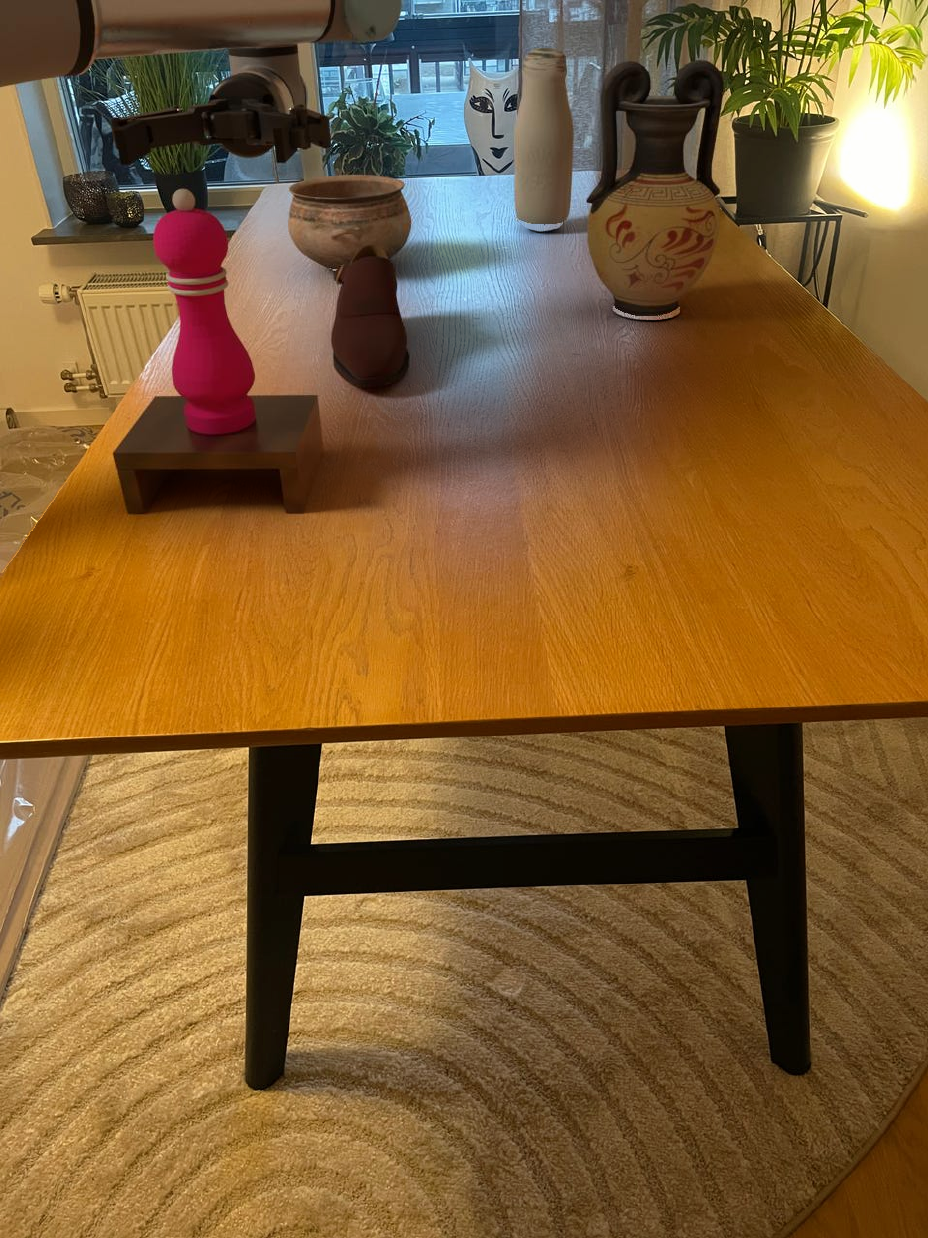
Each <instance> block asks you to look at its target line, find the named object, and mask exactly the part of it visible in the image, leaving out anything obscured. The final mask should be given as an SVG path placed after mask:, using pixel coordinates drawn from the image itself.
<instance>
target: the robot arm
mask: <svg viewBox="0 0 928 1238" xmlns="http://www.w3.org/2000/svg"><path fill="white" fill-rule="evenodd" d="M402 8H403V1H402V0H0V88H5V87H9V86H13V85H19V84H20V85H21V84H24V83H28V82H29V83H30V82H35V81H40V80H47V79H55V78H61V77H62V78H63V77H73V76H75V77H76V76H80V75H84V73H86V72H88V71H89V69H91V67H92V65H93V63H94V61H95V60H101V59H115V58H128V57H140V56H154V55H164V54H165V55H167V54H168V55H169V54H181V53H193V52H206V51H218V50H228V59H229V67H230V75H229V76H227V77H225V78H223V79H222V80H221V81H219V82H218V83H217V84H216V85H215V86H214V87H213V89H212V91H211V92H210V95H209V97H208V100H207V103H202V104H194V105H189V106H188V107H187V108H186V111H184V109H183V107H182V106H180V105H176V104H175V105H172V106H170V107H167V108H164V109H160V110H156V111H155V110H154V111H149V112H143V113H138V114H134V115H133V114H132V115H126V116H121V117H119V116H117V117H113V118H110V119H109V123H110V127H111V132H112V138H113V142H114V143H113V144H114V148H115V149H116V150H117V152H118V157H119V162H120V166H130V165H132V164H134V163H136V162H137V161H139V160H145V157H146V156H147V155H149V154H151V153H152V149H157V148H164V147H170V146H177V145H182V144H188V143H192V144H193V145H194V146H201V147H206V146H213V145H220V146H221V147H222V148H223V149H224V150H225V151H227V152H228V153H230V154H231V155H233V156H237V157H238V158H239V157H240V158H243V159H255V158H259V157H261V156H264V155H265V154H267V153H268V152H270V151H271V150H272V149H273V148H274V154H275V161H276V164H286V163H287V162H288V161H289V160H290V159H291V158H292V157H293V156H294V155H295V154H296V153H297V152H298V151H299V149H301V150H304V151H305V150H308V149H310V148H312V145H315V146H316V147H319V148H322V149H328V148H331V147H332V136H331V135H332V134H331V124H330V116H328V115H325V114H322V113H320V112H318V111H314V110H311V109H309V108H308V104H309V91H308V88H307V84H306V82H305V80H304V78H303V76H302V74H301V69H300V57H299V46H298V45H299V44H318V43H333V42H354V43H357V44H364V43H367V42H380V41H383V40H385V39H387V38H388V37H389V36H390V35H392V33H393V32H394V30H396V27H397V25H398V23H399V21H400V17H401V13H402ZM206 136H207V137H206Z"/></svg>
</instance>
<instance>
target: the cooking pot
mask: <svg viewBox="0 0 928 1238" xmlns="http://www.w3.org/2000/svg"><path fill="white" fill-rule="evenodd" d="M405 186H406V183H405V182H404V181H403V180H400V179H398V178H394V177H390V176H384V175H373V174H342V175H327V176H321V177H320V176H319V177H315V178H309V179H305V180H301V181H298V182H295V183H293V184H291V185H290V186H289V187H288V191H289V192H290V193H291V194H292V195H293V196H292V199H291V203H290V206H289V212H288V218H287V219H288V220H287V229H288V233H289V236H290V239H291V241H292V242H293V244H294V245H295V247H296V248H297V250H298V251H299V252H300V253H301V254H302V255H304V256H305V257H306V258H307V259H309V260H311V261H313V262H315V263H317V264H318V265H320V266H322V267H323V268H326V267H327V268H326V269H328V268H331V269H338V268H341V267H342V265H344V266H345V267H348V266H349V264H350V262H351V260H352V259H353V257H354V256H355V255H356V253H357V252H358V251H359V250H360V249H361V248H362V247H364V246H366V245H371V244H375V245H379V246H381V247H382V248H383V249H384V250H385V251H386V252H387V254H388V256H389V257H390V259H392V258H393V257H394V256H395V255H397V254H398V253H399V252H400V251H401V250H402V249H403V248H404V247H405V245H406V244H407V242H408V240H409V236H410V233H411V230H412V216H411V213H410V210H409V207H408V203H407V201H406V198H405V196H404V194H403V192H402V190H403V189H404V188H405Z"/></svg>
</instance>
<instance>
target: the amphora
mask: <svg viewBox="0 0 928 1238" xmlns="http://www.w3.org/2000/svg"><path fill="white" fill-rule="evenodd" d="M724 86H725V85H724V78H723V74H722V73H721V71H720V69H719V68H718V67H717V66H716V65H715V64H714V63H712V62H711V61H708V60H705V59H696V60H692V61H689V62H688V63H686V64H684V65H683V66H682V67H681V68H680V69H679V70H678V73H677V74H676V76H675V78H674V85H673V91H674V95H669V94H668V95H650V93H651V90H652V81H651V74H650V72H649V70H648V69H647V68H646V67H645V66H644V65H643V64H642V63H639V62H638V61H632V60H627V61H623V62H620V63H618V64H615V65H614V66H613V67H612V68H611V69H610V70H609V71H608V73H607V74H606V76H605V78H604V79H603V82H602V85H601V93H600V117H601V118H600V119H601V140H602V141H601V142H602V146H601V147H602V156H601V157H602V158H601V159H602V160H601V164H602V165H601V173H600V179H599V181H598V184H597V185H596V186H595V187H594V189H593V190H592V191H591V192H590V194H589V195H588V197H587V198H586V204H591V206H590V209H589V211H588V216H587V224H586V225H587V227H586V231H587V233H586V234H587V235H586V236H587V245H588V246H587V247H588V252H589V255H590V258H591V261H592V264H593V268H594V269H595V272H596V274H597V276H598V278H599V280H600V281H601V282H602V284H603V285H604V286H605V287H606V289H607V290H608V291H609V292H610V293H611V295H612V297H613V300H614V301H613V304H614V306H615V308H616V309H618V310H620V311H622V312H624V313H628V314H631V315H635V316H658V315H659V316H660V315H663V314H667V313H670V312H672V311H674V310H676V309H677V308H678V307H679V306H680V305H679V302H680V301H679V300H680V299H681V297H682V296H683V295H684V294H685V293H687V291H689V290H690V289H691V288H693V287H694V285H695V284H696V283H697V282H698V281H699V280H700V278H701V277H702V275H703V274H704V273H705V271H706V270H707V267H708V265H709V264H710V262H711V259H712V257H713V255H714V252H715V250H716V247H717V242H718V239H719V234H720V221H721V220H720V219H721V218H720V216H721V214H720V213H721V212H720V207H719V203H718V200H717V198H716V197H717V196H718V195H720V194H721V189H720V187H718V185H717V184H716V182H715V181H714V180H713V162H714V161H713V160H714V155H715V150H716V143H717V137H718V132H719V126H720V125H719V124H720V119H721V112H722V106H723V99H724V90H725V87H724ZM703 109H704V113H703V114H704V115H703V121H702V126H701V131H700V132H701V133H700V139H699V144H698V145H699V146H698V151H697V160H696V171H695V178H694V177H692V176H691V175H690V174H689V173H688V172H687V171H686V167H685V161H684V160H685V159H684V157H685V156H684V154H685V153H684V146H685V141H686V137H687V135H689V133H690V132H691V130H692V129H693V128H694V126H695V124H696V122H697V119H698V115H699V113H700V111H701V110H703ZM617 112H624V113H625V121H626V124H627V127H628V128H629V129H630V130H631V131H632V132H633V135H634V141H635V142H634V144H635V146H634V152H633V153H634V154H633V159H632V163H631V166H630V168H629V170H628V171H627V172H626V173H625V174H623V175H621V176H620V177H618V178H617V174H618V173H617V171H618V154H619V153H618V151H619V150H618V123H617V120H618V119H617Z"/></svg>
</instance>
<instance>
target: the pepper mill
mask: <svg viewBox="0 0 928 1238" xmlns="http://www.w3.org/2000/svg"><path fill="white" fill-rule="evenodd" d="M171 200H172V204H173V206H174V210H171V211H169V212H167V213H165V214H164V215H163V216H162V217H161V218H160V219H159V220H158V222H157V223H156V224H155V227H154V231H153V235H152V238H153V239H152V242H153V249H154V252H155V255H156V257H157V259H158V260H159V261H160V263H161V264H162V265H164V266H165V268H167V269H168V271H167V273H166V274H165V279H166V281H167V283H168V285H167V289H168V291H169V292H170V293H171V294H173V295H174V298H175V300H176V304H177V309H178V314H179V315H178V316H179V334H178V339H177V343H176V345H175V346H176V347H175V350H174V354H173V356H172V357H173V358H172V366H171V377H172V385H173V387H174V390H176V392H177V393H178V395H179V396H182V397H183V398H184V399H186V400H187V401H188V402H187V403H186V404H185V406H184V413H185V418H186V423H187V426H188V428H189V429H190V430H192V431H194V432H196V433H200V434H204V435H222V434H229V433H234V432H238V431H240V430H243V429H245V428H247V427H249V426H250V425H252V424H253V422H254V421H255V418H256V415H255V408H254V401H253V399H252V398H251V397H250V396H249V395H248V394H249V392H250V391H251V390H252V388H253V386H254V384H255V381H256V373H255V369H254V364H253V360H252V358H251V357H250V354H249V352H248V351H247V349H246V346H245V345H244V344H243V342H242V341H241V339H240V337H239V336H238V335H237V332H236V331H235V329H234V328H233V326H232V323H231V321H230V318H229V315H228V312H227V307H226V301H225V300H226V299H225V297H226V296H225V289H227V288H228V286H229V281H228V279H227V273H228V272H227V269H226V268H225V267H223V266H222V264H223V262H224V260H225V259H226V257H227V254H228V251H229V239H228V235H227V232H226V229H225V228H224V225H223V224H222V222H221V221H220V220H219V219H218V218H217V217H216V216H215V215H213V214H212V213H211V212H208V211H206V210H203V209H201V208H195V205H196V198H195V195H194V194H193V193H192V192H191V191H190V190H189V189H187V188H179V189H176V190H175V191H174V193H173V194H172V199H171Z"/></svg>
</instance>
